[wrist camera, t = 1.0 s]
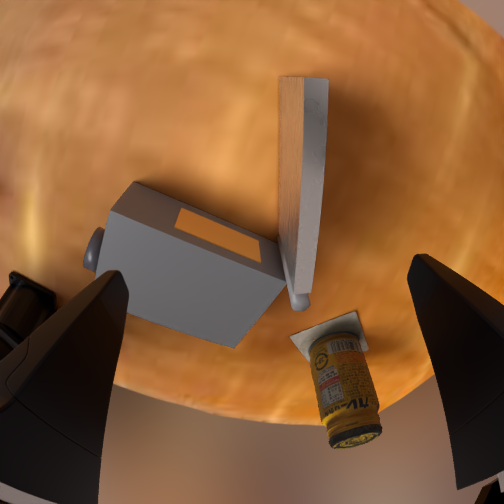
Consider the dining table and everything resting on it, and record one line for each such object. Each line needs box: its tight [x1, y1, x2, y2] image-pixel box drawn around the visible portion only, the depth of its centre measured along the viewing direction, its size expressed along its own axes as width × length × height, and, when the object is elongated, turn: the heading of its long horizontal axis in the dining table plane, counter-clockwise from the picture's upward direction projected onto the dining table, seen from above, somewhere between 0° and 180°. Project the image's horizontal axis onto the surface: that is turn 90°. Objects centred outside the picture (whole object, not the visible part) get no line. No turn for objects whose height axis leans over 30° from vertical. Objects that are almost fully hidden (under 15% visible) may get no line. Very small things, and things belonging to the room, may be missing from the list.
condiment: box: [289, 311, 382, 449], centre depth 26 cm, size 7×8×12 cm
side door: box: [278, 76, 329, 294], centre depth 15 cm, size 11×2×7 cm, turn 2°
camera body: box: [83, 182, 310, 348], centre depth 19 cm, size 14×9×7 cm, turn 62°
